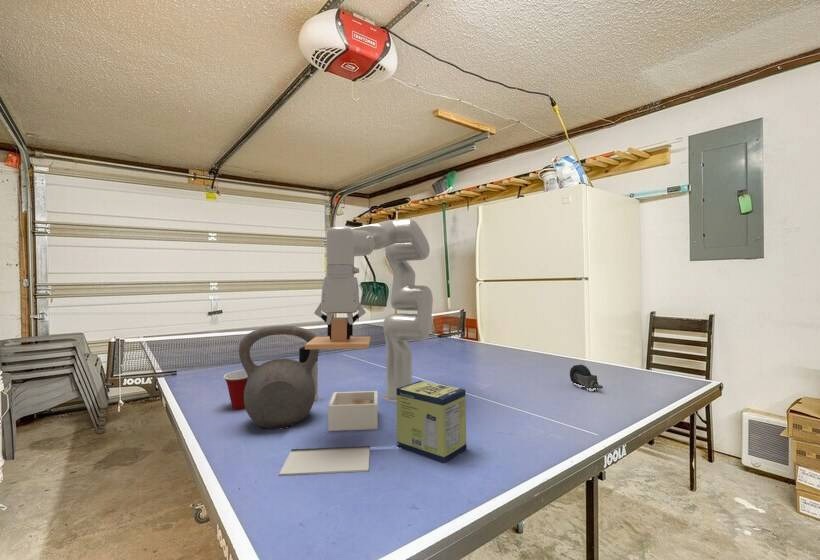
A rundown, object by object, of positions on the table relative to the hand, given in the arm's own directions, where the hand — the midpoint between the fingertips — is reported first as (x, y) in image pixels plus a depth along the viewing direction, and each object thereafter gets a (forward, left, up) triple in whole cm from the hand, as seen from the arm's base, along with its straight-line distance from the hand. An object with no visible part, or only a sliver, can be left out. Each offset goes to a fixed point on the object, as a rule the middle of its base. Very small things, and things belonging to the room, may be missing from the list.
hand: (340, 338), depth 106 cm
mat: (+2, +8, -28) cm, 29 cm away
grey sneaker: (-93, -41, -28) cm, 105 cm away
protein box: (-24, +7, -28) cm, 38 cm away
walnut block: (-5, -13, -27) cm, 30 cm away
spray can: (+15, -36, -28) cm, 48 cm away
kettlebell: (+20, -16, -28) cm, 38 cm away
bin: (-3, -12, -28) cm, 31 cm away
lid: (0, 0, -2) cm, 2 cm away
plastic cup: (+38, -33, -28) cm, 58 cm away
